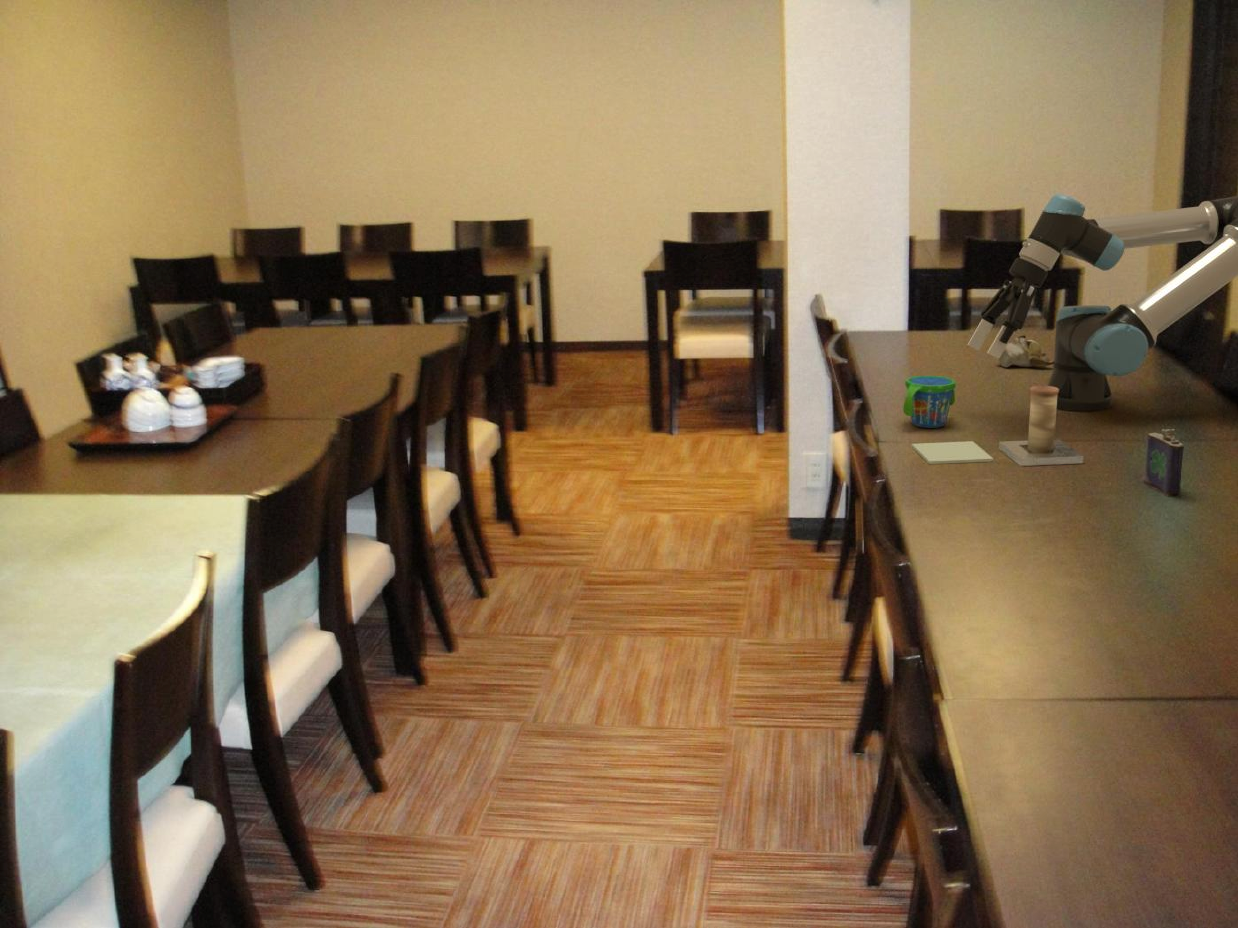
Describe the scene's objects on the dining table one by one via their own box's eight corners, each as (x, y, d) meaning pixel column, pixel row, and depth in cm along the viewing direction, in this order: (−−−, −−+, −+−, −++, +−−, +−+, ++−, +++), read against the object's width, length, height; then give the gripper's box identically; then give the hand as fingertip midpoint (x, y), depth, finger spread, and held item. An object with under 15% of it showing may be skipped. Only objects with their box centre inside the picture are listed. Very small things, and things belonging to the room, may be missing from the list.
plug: (1047, 451, 263) (1052, 385, 259) (1058, 459, 258) (1063, 391, 254) (1022, 452, 263) (1026, 386, 259) (1031, 460, 258) (1036, 392, 254)
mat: (972, 444, 270) (972, 441, 270) (993, 461, 257) (993, 458, 257) (911, 446, 269) (911, 443, 269) (929, 464, 257) (929, 461, 257)
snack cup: (935, 414, 294) (937, 371, 291) (971, 423, 285) (973, 379, 282) (886, 425, 286) (887, 381, 283) (921, 435, 277) (923, 389, 274)
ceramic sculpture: (991, 330, 342) (1047, 332, 342) (987, 362, 344) (1043, 364, 344) (1003, 338, 331) (1060, 340, 331) (999, 371, 334) (1056, 373, 334)
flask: (1140, 481, 243) (1146, 422, 239) (1155, 480, 243) (1161, 421, 240) (1169, 497, 233) (1175, 436, 230) (1185, 496, 234) (1191, 435, 230)
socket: (1058, 446, 267) (1058, 439, 266) (1082, 463, 255) (1083, 456, 254) (998, 448, 266) (999, 441, 266) (1020, 466, 254) (1021, 458, 254)
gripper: (999, 253, 287) (951, 337, 291) (1039, 259, 263) (986, 351, 266) (1027, 268, 288) (979, 352, 292) (1070, 276, 264) (1017, 367, 267)
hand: (982, 352), depth 279 cm, fingers open, 13 cm apart
